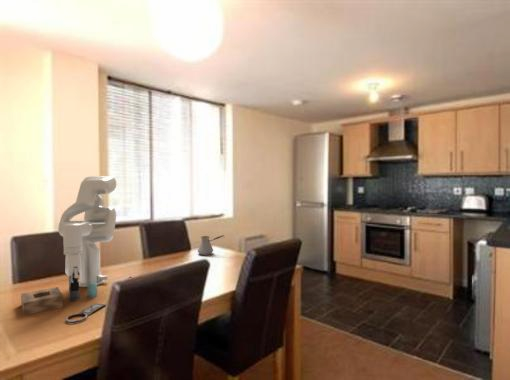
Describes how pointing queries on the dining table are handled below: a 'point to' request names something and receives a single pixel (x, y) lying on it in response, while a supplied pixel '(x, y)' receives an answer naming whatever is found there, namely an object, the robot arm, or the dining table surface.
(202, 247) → the coffee pot
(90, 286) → the short pin
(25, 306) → the hole block
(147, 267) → the dining table surface
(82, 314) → the grey ring with handle
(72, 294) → the tall pin
